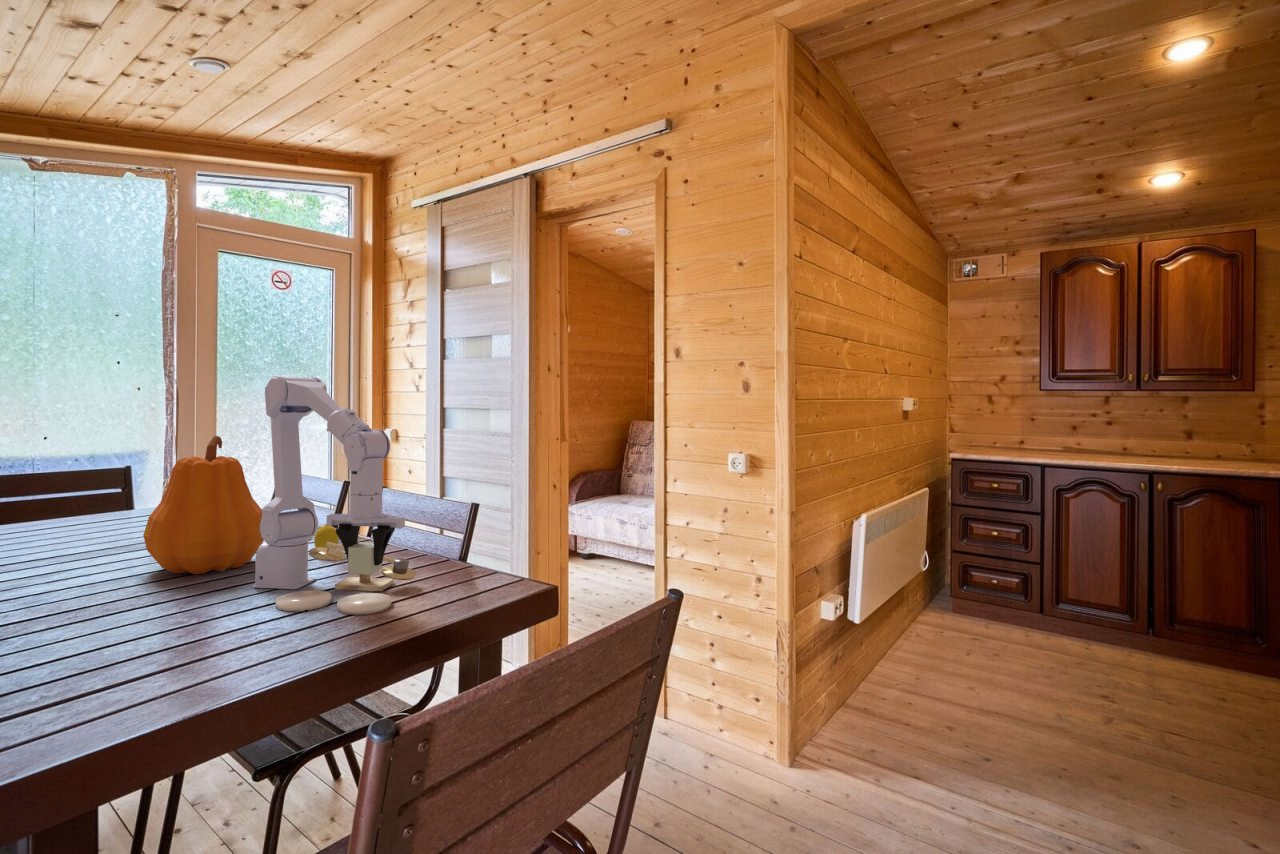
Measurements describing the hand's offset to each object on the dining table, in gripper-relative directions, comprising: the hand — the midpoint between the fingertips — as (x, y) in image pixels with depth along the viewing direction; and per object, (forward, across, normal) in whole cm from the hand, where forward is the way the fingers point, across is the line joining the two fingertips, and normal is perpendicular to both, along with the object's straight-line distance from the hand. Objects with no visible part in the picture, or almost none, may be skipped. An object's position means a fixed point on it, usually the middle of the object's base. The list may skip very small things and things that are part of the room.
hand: (365, 563), depth 128 cm
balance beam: (+4, -7, +13) cm, 15 cm away
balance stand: (+8, -6, +13) cm, 17 cm away
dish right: (+8, 0, 0) cm, 8 cm away
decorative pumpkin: (+9, -47, +22) cm, 53 cm away
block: (+1, 0, 0) cm, 1 cm away
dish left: (+8, -12, 0) cm, 15 cm away
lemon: (+9, -27, +37) cm, 47 cm away
